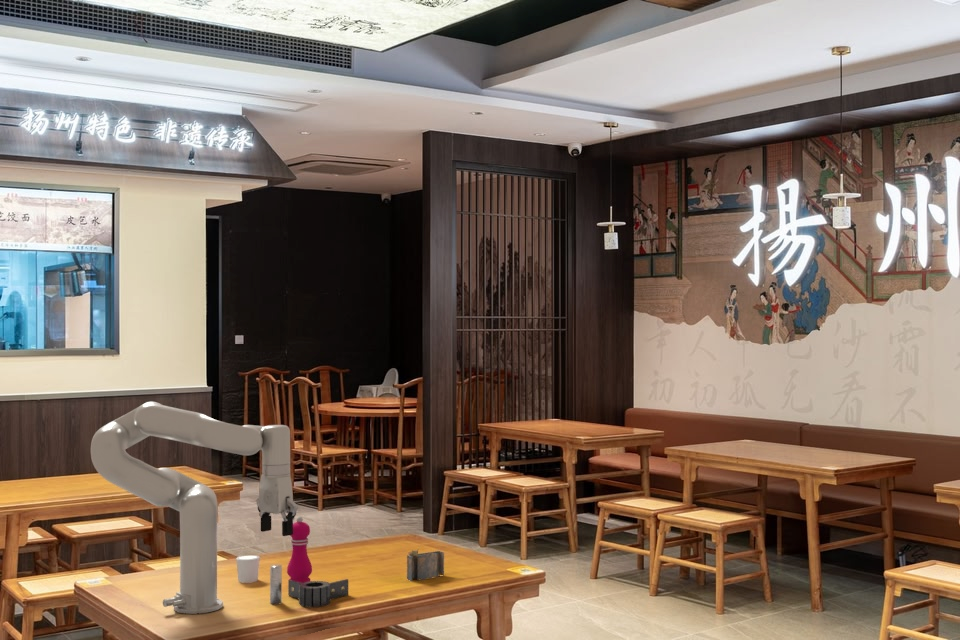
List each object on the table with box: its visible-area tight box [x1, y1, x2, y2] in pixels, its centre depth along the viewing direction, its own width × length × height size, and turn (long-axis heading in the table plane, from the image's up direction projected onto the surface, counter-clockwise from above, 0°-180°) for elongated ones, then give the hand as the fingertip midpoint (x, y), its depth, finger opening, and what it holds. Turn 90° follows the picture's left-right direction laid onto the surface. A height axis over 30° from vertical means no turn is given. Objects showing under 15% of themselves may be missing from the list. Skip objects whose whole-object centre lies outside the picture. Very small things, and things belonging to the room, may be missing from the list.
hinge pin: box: [269, 564, 283, 605], centre depth 264 cm, size 3×3×10 cm
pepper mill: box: [286, 516, 313, 583], centre depth 283 cm, size 7×7×20 cm
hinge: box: [287, 578, 349, 608], centre depth 269 cm, size 16×16×5 cm
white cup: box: [235, 554, 261, 584], centre depth 289 cm, size 7×7×7 cm
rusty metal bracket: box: [406, 548, 445, 582], centre depth 291 cm, size 11×3×10 cm, turn 123°
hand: (276, 533), depth 265 cm, fingers open, 9 cm apart
